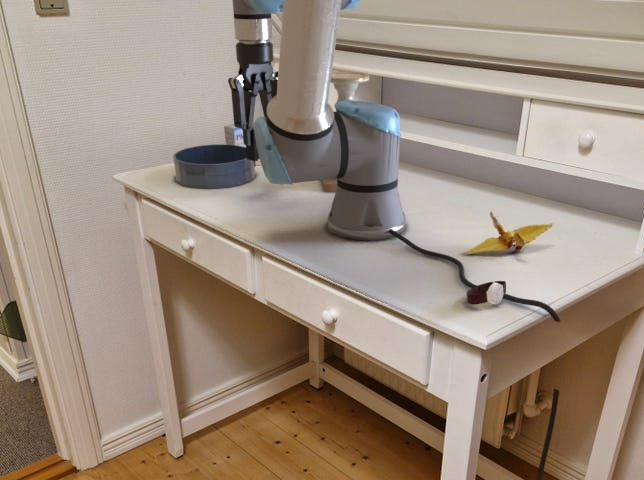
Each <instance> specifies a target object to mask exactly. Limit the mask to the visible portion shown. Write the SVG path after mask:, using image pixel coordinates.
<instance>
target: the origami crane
mask: <svg viewBox="0 0 644 480" xmlns="http://www.w3.org/2000/svg"><path fill="white" fill-rule="evenodd" d="M489 216H490V218H491V220H492V225H493V227H494V228H495V229H496V231H497V232H498V234H499V237H488V238H487V239H484V241H482V242H481V243H480V244H478V245H476V246H473V248H471V249H469V250H468V251H467V252H466V253H465V254H464V256H467V255H472V254H479V253H486V252H495V251H503V252H504V251H510V249H512V248H513V247H514V250H513V251H512V252H511V254H518V253H519V252H520V251H521V250H522V249H523V247H525V246H526V245H527V244H529V243H532V242H533V241H535V240H536V238H538V237H539V236H541V235H542V234H544V233H545V232H547V231H548V230H549V229H551V228H552V227H553V226H554V223H546V224H545V223H543V224H540V223H538V224H529V225H524V226H521V227H519V228H516V229H514V230H507V231H505V228H504V226H503V225H502V224H501V223H500V222H499V220H498V217H499V216H498V215H495V214H494V212H493V211H490V212H489Z"/></svg>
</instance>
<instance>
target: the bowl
mask: <svg viewBox="0 0 644 480" xmlns="http://www.w3.org/2000/svg"><path fill="white" fill-rule="evenodd" d="M172 159H173V167H174V168H173V169H174V175H175V179H176V180H175V181H176V182H177V183H178V184H180V185H182V186H184V187H188V188H194V189H207V190H209V189H210V190H211V189H212V190H213V189H225V188H226V189H227V188H231V187H232V188H233V187H238V186H241V185H244V184H247V183H249V182H251V181H253V180H254V179H255V178H256V167H255V166H254V161H252V160H248V159H247V154H246V147H243V146H238V145H226V143H225V144H224V143H223V144H222V143H221V144H219V143H218V144H203V145H195V146H191V147H187V148H183V149H179V150H178V151H175V153H174V154H173V156H172Z"/></svg>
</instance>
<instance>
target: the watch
mask: <svg viewBox="0 0 644 480" xmlns="http://www.w3.org/2000/svg"><path fill="white" fill-rule="evenodd" d="M482 288H486V289H488V291H487V292H485V293H483V292H482ZM504 294H507V282H506V280H495V281H490V282H489V281H488V282H485V283H481V284H477V286H475V287H473V288H472V289H471V288H469V289H468V290H467V291H466V300H467V304H468V305H471V306H474V305H476V306H477V305H483V304H486V303H490V304H491V305H498V304H500V303H501V301H502V300H503V295H504Z"/></svg>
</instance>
